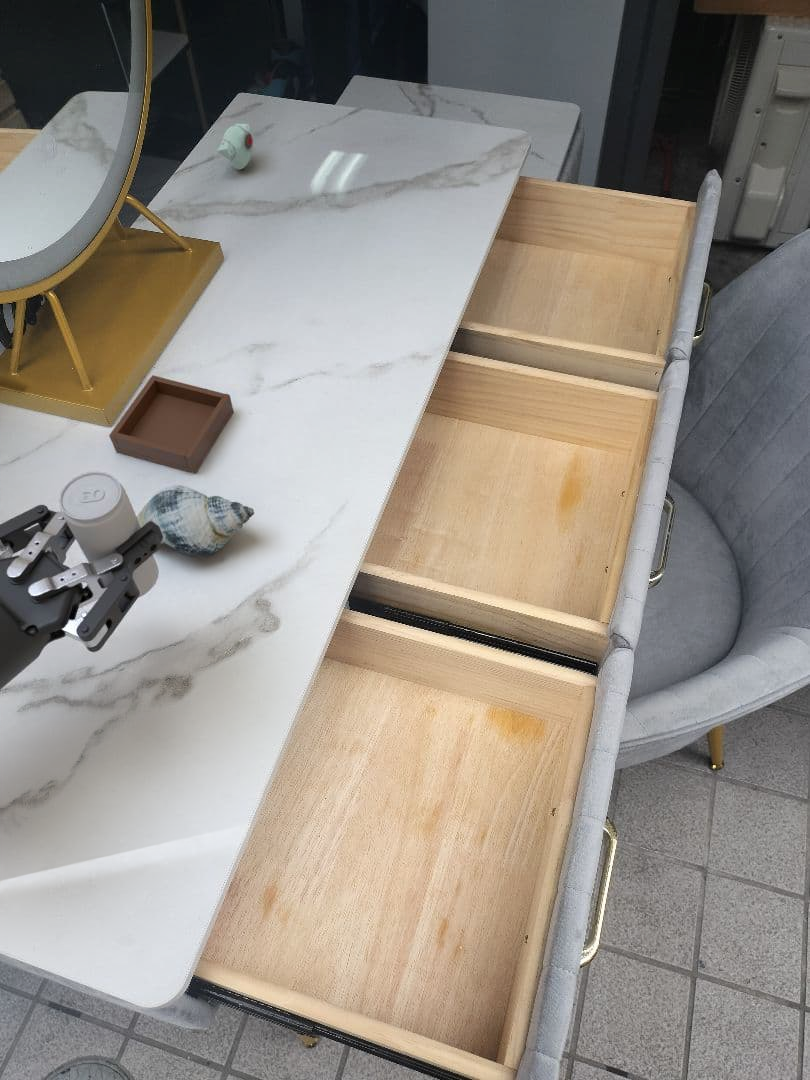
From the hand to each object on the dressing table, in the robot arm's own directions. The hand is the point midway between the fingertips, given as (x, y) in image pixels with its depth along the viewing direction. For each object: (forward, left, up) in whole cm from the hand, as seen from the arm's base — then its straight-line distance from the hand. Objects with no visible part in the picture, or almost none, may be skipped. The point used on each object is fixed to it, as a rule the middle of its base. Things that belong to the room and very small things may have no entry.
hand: (134, 512), depth 66 cm
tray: (-12, +22, -17) cm, 30 cm away
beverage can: (-1, -2, -7) cm, 8 cm away
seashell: (-3, +9, -17) cm, 20 cm away
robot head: (-27, +73, -17) cm, 80 cm away
